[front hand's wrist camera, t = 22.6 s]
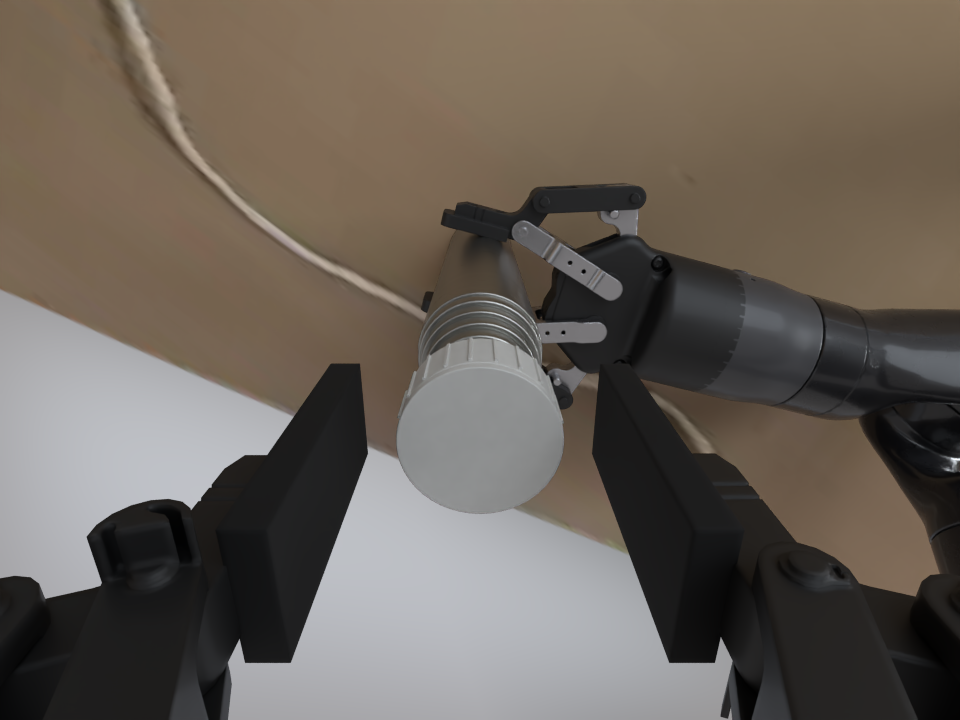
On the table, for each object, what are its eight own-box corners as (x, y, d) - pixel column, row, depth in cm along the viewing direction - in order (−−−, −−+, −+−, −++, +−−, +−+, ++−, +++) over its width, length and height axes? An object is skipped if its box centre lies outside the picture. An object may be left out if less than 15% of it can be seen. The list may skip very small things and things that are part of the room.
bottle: (459, 288, 38) (425, 517, 14) (441, 229, 36) (369, 375, 13) (518, 272, 37) (582, 479, 14) (501, 211, 36) (543, 328, 12)
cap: (390, 452, 15) (378, 496, 13) (422, 318, 14) (413, 345, 12) (529, 484, 15) (536, 530, 14) (575, 356, 14) (589, 389, 12)
